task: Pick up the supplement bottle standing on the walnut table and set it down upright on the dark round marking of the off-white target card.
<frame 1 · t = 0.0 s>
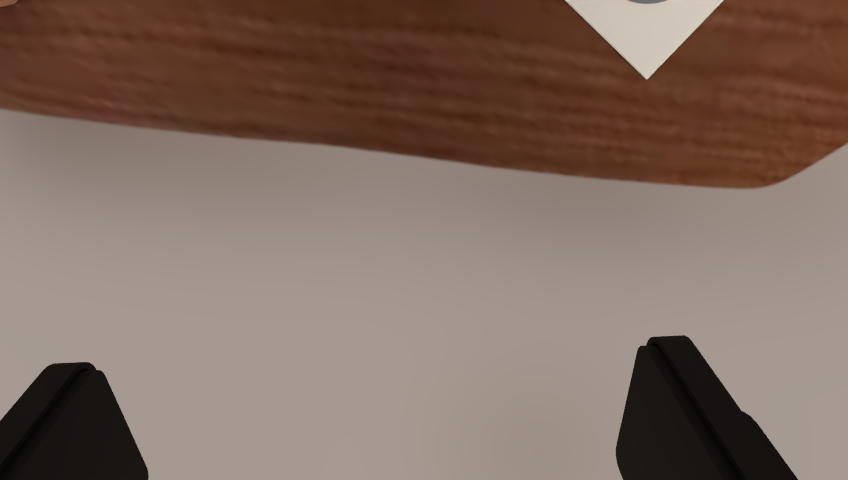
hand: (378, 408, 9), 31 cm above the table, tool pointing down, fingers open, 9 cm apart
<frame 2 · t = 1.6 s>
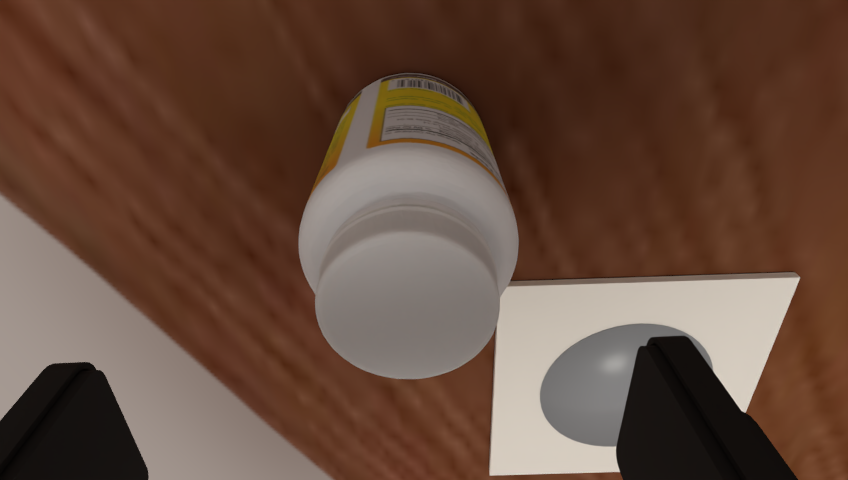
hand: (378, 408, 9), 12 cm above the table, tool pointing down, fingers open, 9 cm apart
supplement bottle: (411, 141, 20), on the table
target card: (622, 383, 26), on the table
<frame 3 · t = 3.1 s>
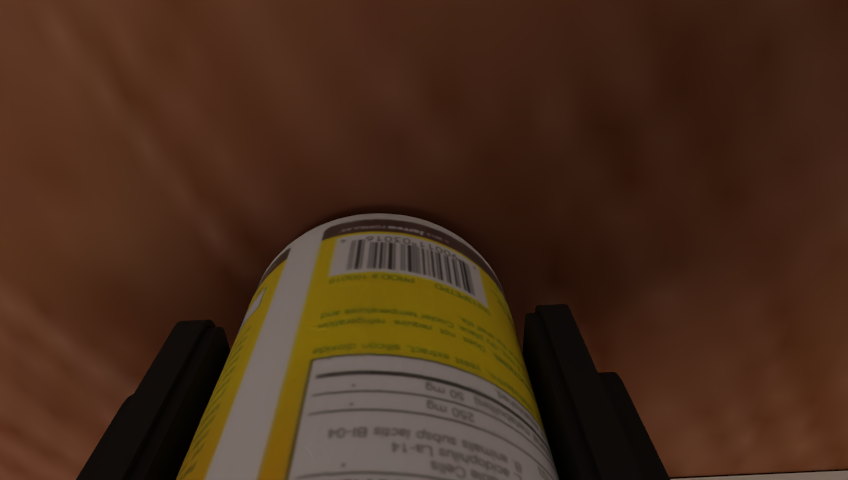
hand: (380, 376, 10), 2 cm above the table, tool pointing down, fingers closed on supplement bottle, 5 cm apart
supplement bottle: (384, 305, 12), on the table, touching gripper
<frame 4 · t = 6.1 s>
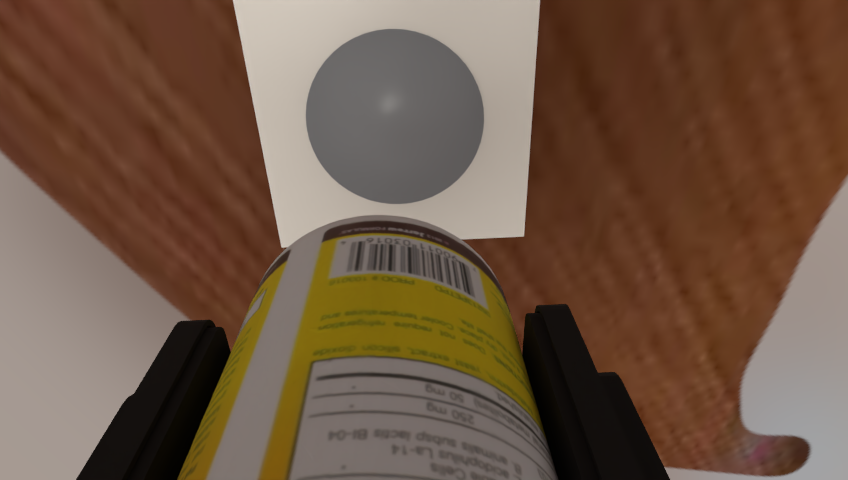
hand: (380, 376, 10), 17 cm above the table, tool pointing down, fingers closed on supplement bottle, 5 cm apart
supplement bottle: (384, 306, 12), point 15 cm above the table, touching gripper
target card: (395, 120, 25), on the table
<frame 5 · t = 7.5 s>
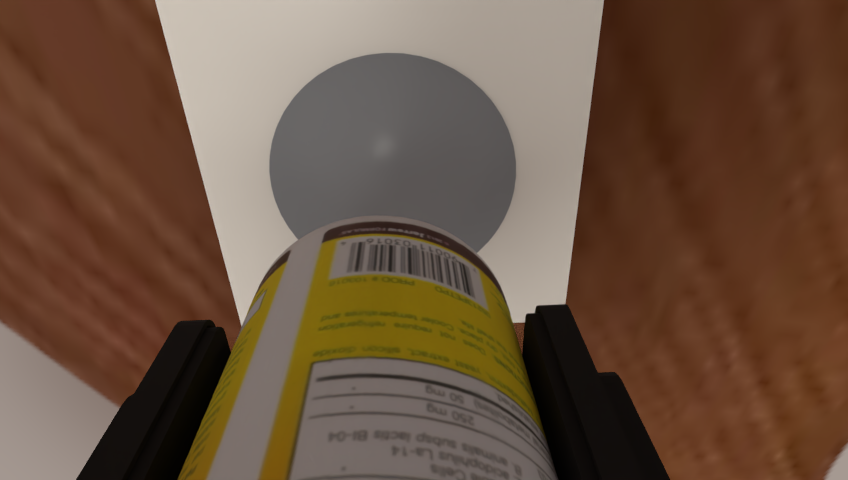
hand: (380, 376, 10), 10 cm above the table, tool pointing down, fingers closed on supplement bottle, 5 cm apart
supplement bottle: (384, 307, 12), point 7 cm above the table, touching gripper
target card: (394, 175, 18), on the table
when the fingers open (4 cm above the table, at t = 9.0 s): supplement bottle drops 1 cm, resting on target card.
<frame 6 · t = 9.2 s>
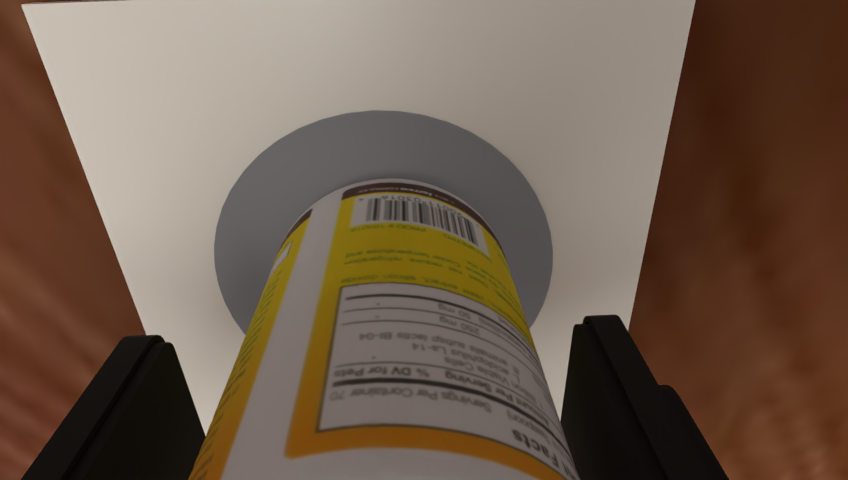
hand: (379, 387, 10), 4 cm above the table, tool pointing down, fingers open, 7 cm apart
supplement bottle: (394, 267, 13), resting on target card
target card: (386, 266, 14), on the table
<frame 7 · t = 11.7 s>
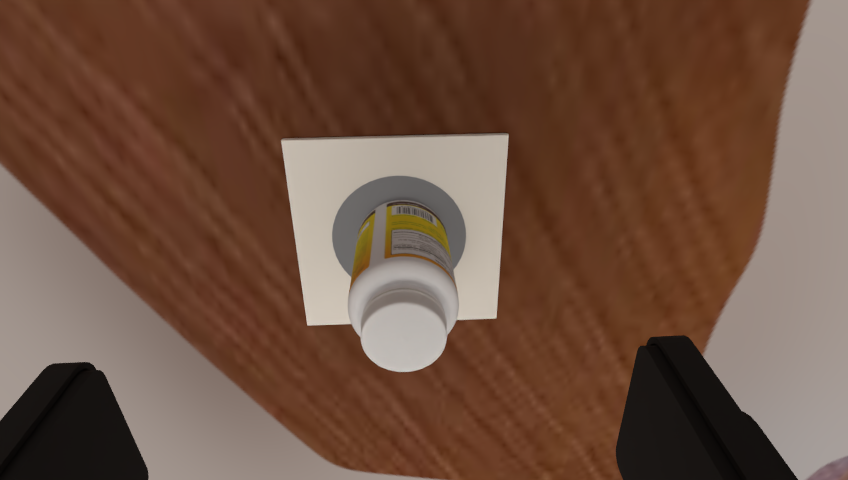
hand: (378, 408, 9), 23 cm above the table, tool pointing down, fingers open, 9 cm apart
supplement bottle: (402, 235, 33), resting on target card
target card: (399, 235, 33), on the table
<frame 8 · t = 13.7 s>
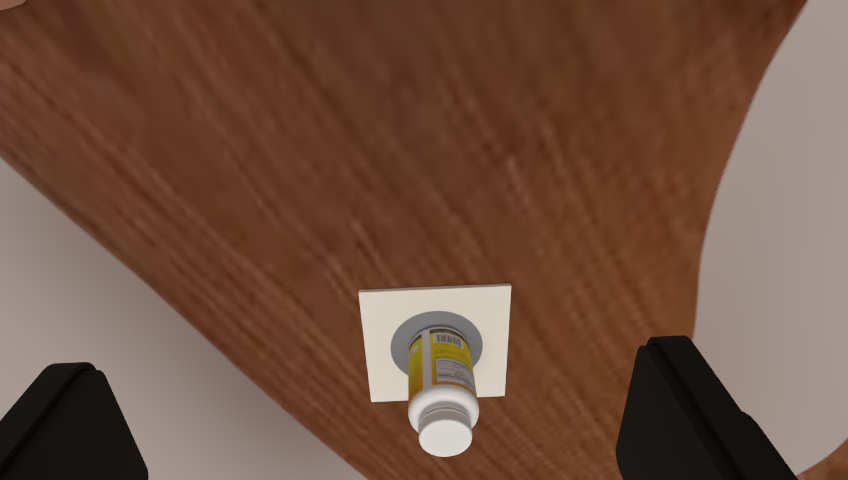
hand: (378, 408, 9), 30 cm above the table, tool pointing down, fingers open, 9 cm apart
supplement bottle: (438, 345, 48), resting on target card
target card: (436, 344, 48), on the table
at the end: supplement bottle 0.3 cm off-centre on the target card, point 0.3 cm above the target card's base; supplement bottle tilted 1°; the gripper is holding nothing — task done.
